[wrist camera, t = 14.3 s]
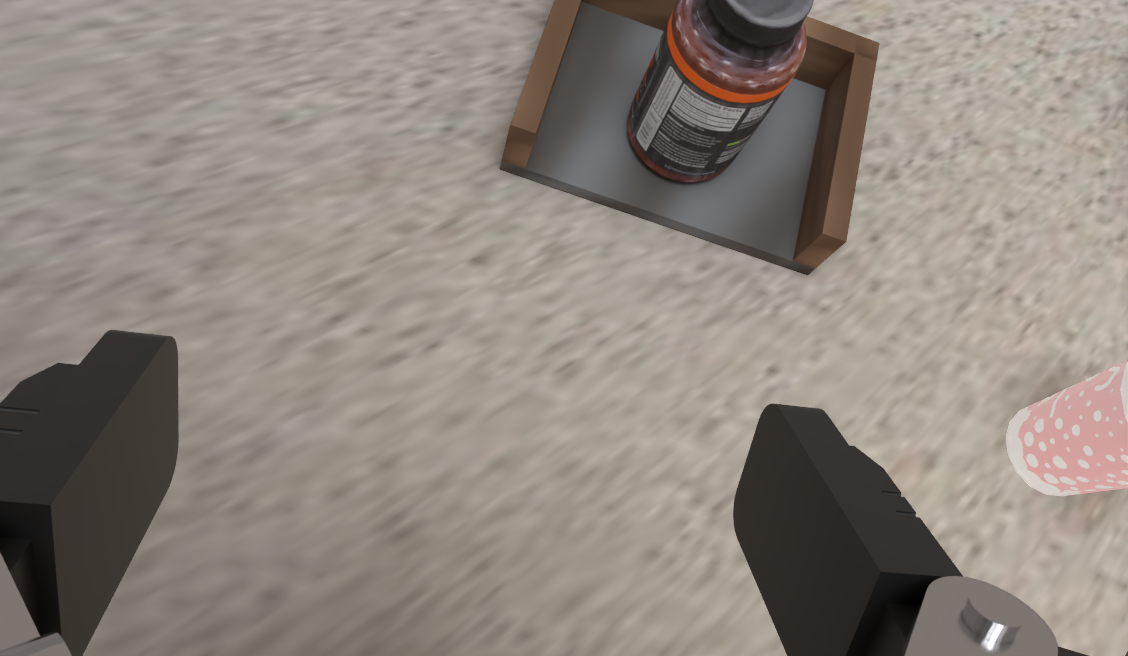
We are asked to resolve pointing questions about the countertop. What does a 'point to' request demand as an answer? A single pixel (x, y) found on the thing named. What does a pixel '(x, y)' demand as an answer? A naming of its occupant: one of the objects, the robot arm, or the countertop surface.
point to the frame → (748, 185)
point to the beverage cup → (1075, 437)
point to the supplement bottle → (714, 82)
